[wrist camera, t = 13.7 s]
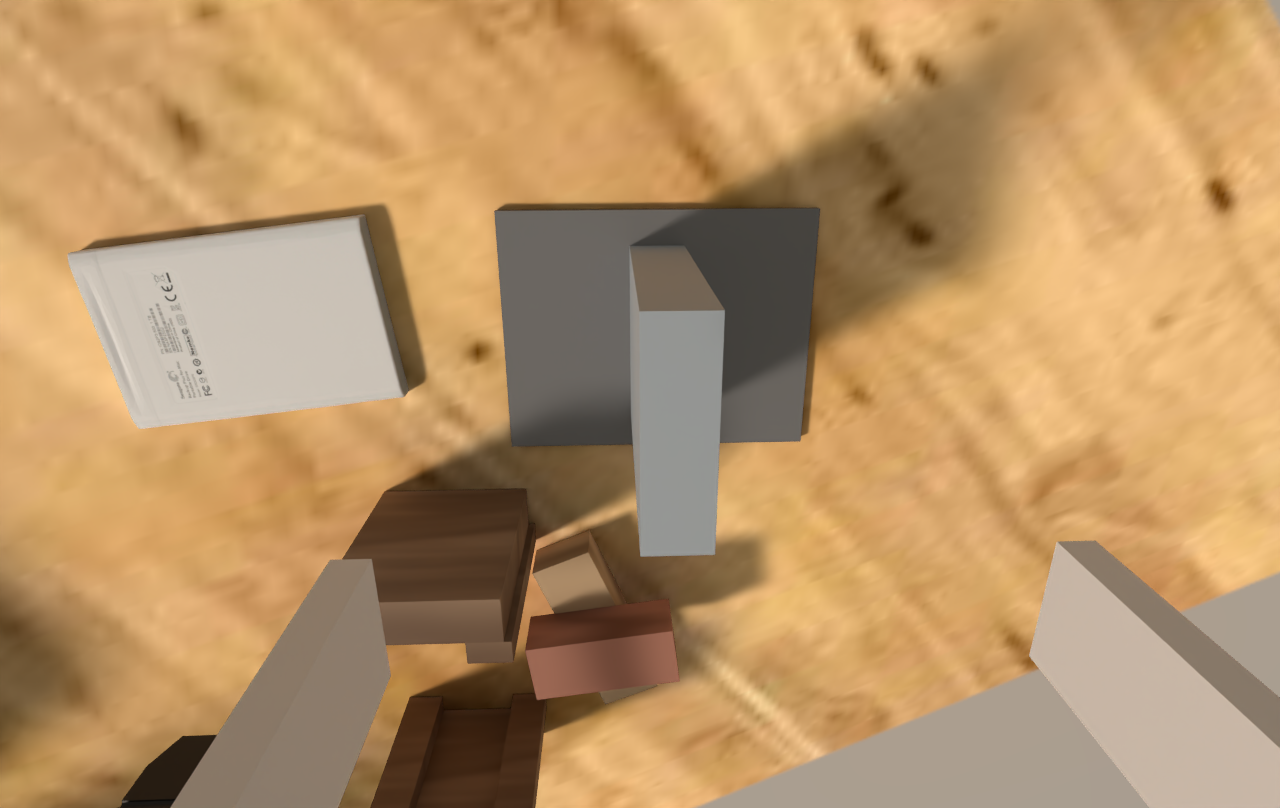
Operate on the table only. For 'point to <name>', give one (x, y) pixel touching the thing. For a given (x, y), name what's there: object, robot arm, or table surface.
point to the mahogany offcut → (602, 649)
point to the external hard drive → (243, 321)
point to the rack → (456, 641)
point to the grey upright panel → (675, 400)
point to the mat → (600, 316)
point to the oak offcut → (579, 585)
